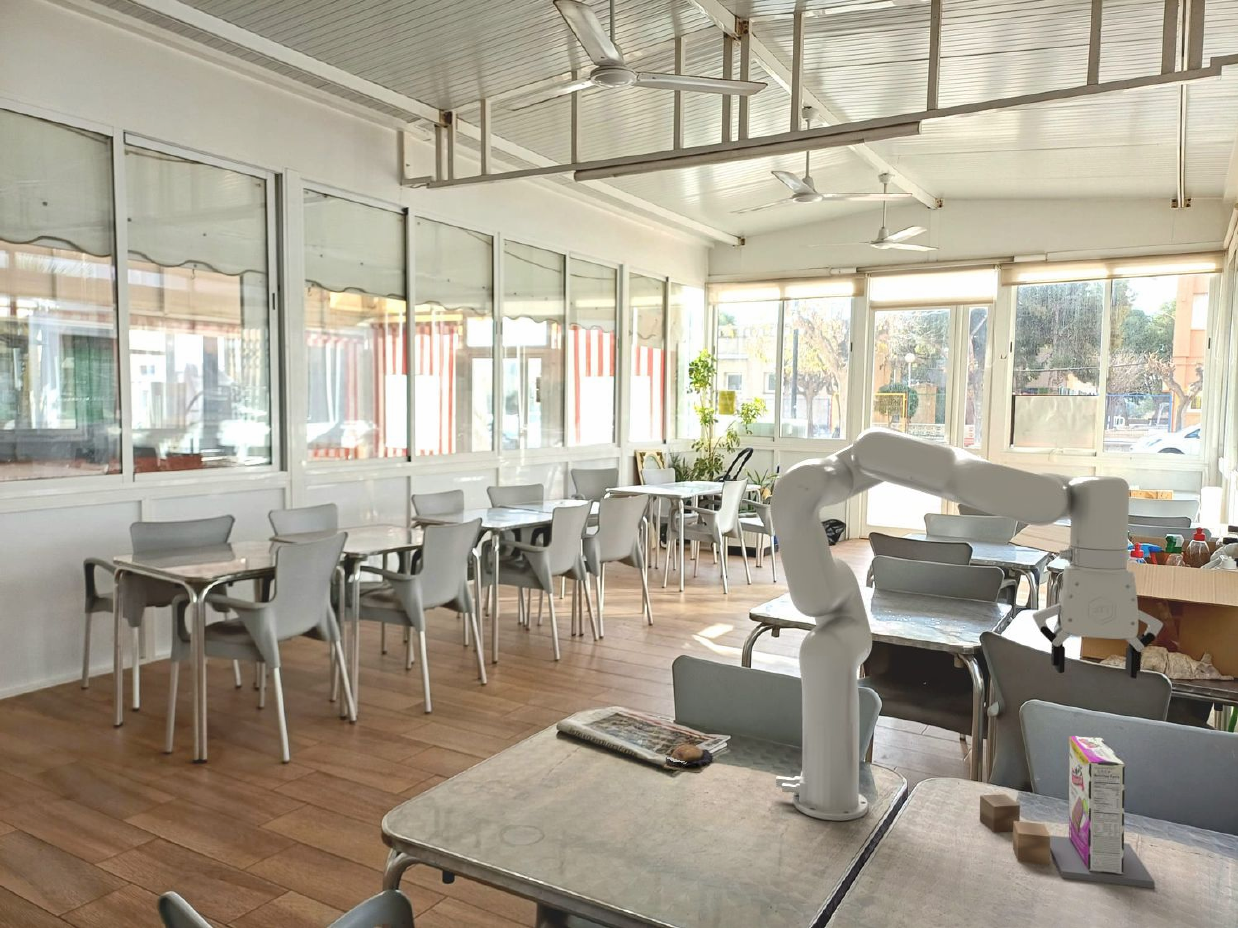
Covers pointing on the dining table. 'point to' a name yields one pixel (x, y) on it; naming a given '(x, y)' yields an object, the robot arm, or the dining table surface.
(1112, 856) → the candy bar box
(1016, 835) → the light brown wooden cube
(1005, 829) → the dark oak block
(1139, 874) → the charcoal mat
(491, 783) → the dining table surface
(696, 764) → the bread roll
